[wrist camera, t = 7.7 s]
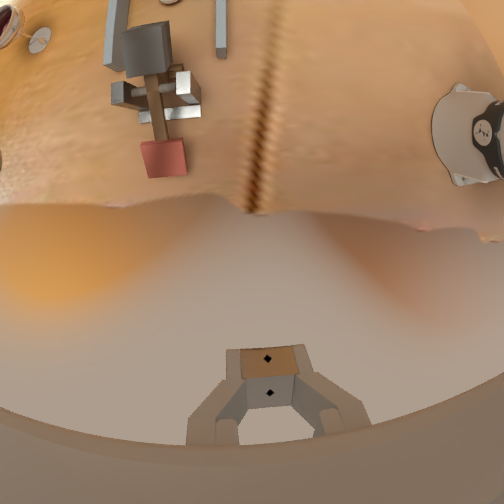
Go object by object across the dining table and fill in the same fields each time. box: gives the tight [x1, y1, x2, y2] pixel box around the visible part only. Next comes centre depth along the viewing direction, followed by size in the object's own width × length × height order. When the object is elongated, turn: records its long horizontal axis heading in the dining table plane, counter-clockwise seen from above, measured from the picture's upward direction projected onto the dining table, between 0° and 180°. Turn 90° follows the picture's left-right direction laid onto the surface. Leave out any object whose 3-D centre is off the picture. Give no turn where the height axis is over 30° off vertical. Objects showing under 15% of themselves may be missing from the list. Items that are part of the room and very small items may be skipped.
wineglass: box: [0, 5, 51, 54], centre depth 20 cm, size 7×7×12 cm
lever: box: [120, 21, 188, 178], centre depth 29 cm, size 5×19×10 cm
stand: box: [111, 71, 201, 124], centre depth 29 cm, size 8×4×10 cm, turn 91°
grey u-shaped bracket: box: [103, 0, 227, 72], centre depth 26 cm, size 15×15×5 cm
